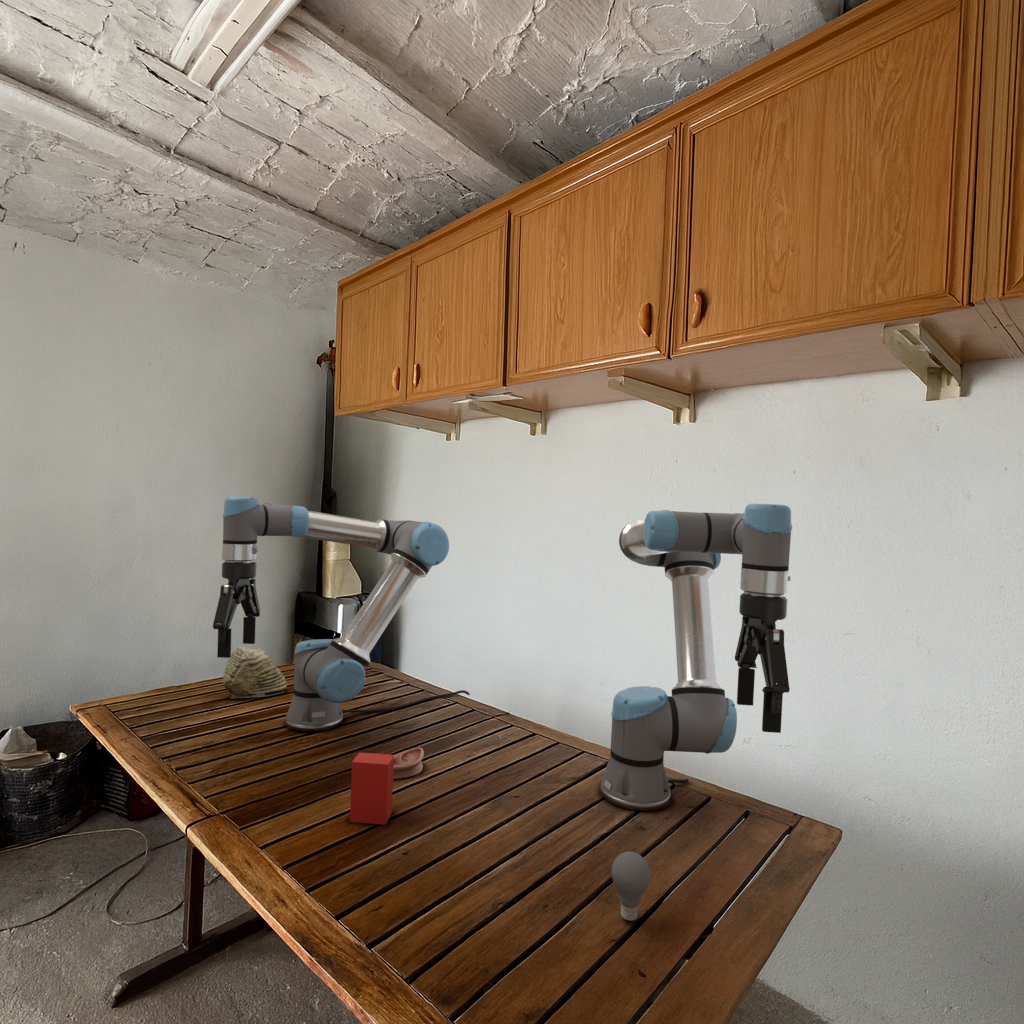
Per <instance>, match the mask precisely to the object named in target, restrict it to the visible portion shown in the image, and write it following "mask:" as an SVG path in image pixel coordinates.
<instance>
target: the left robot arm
mask: <svg viewBox="0 0 1024 1024" xmlns="http://www.w3.org/2000/svg"><path fill="white" fill-rule="evenodd" d="M222 513H223V514H222V518H223V519H222V547H221V548H222V550H221V559H222V561H223V562H222V563H221V577H222V579H227V580H228V581H227V584H221V585H220V592H219V598H218V602H217V607H216V611H215V614H214V618H213V623H212V629H213V630H217V652H216V653H217V655H216V658H222V659H230V657H231V655H232V628H230V627H231V624H232V621H233V618H234V615H235V613H236V610H237V606H238V605H241V609H242V610H243V612H244V615H245V616H243V620H242V621H243V625H242V626H243V628H242V644H243V645H254V644H256V621H257V620H256V618H259V617H260V616H261V608H260V603H259V597H258V592H257V585H256V578H255V577H256V576H257V562H256V560H257V553H258V552H259V548H258V537H293V538H294V537H297V538H303V539H311V540H316V541H324V542H330V543H337V544H344V545H345V544H346V545H351V546H359V547H365V548H370V549H371V550H372V551H373V552H375V553H383V554H386V555H389V556H390V559H391V562H390V564H389V565H388V566H387V568H386V569H385V571H384V573H383V574H382V576H381V577H380V579H378V581H377V583H376V585H375V586H374V588H373V589H372V591H371V592H370V593H369V595H368V597H367V598H366V600H364V602H363V604H362V605H361V607H360V609H359V610H358V612H357V613H356V615H355V616H354V617H353V618H352V620H351V622H350V624H349V625H348V627H347V628H346V630H345V631H344V633H343V634H342V636H340V637H337V638H333V639H332V638H323V639H322V638H320V639H307V640H303V641H299V642H297V644H296V645H295V650H294V653H293V654H294V655H293V656H294V672H293V673H294V674H293V695H292V696H293V697H292V699H291V702H290V704H289V708H288V711H287V713H286V715H285V726H286V728H287V729H289V730H291V731H294V732H295V731H296V732H301V733H316V732H325V731H329V730H332V729H335V728H337V727H339V726H340V725H342V723H343V722H344V714H345V713H347V714H348V713H377V712H378V713H379V712H386V711H392V710H393V711H394V710H398V709H402V708H405V707H409V706H413V705H415V704H419V703H422V702H425V701H429V700H433V699H438V698H444V697H453V696H455V695H458V694H466V695H467V696H470V695H471V693H470V692H469V691H467V690H463V689H462V690H461V689H460V690H457V691H453V692H450V693H442V694H436V695H431V696H428V697H427V696H426V697H423V698H420V699H417V700H414V701H410V702H407V703H403V704H400V705H396V706H389V707H382V708H372V709H371V708H369V709H342V706H341V704H344V703H347V702H350V701H351V700H354V699H355V698H356V697H357V696H358V695H360V693H361V692H362V690H363V689H364V686H365V684H366V679H367V678H366V670H367V669H368V667H369V666H370V664H371V657H370V654H371V652H372V650H373V649H374V647H375V646H376V644H377V642H378V641H379V639H380V638H381V636H382V635H383V633H384V632H385V630H386V629H387V628H388V625H389V624H390V622H391V621H392V619H393V618H394V616H395V615H396V613H397V611H398V610H399V609H400V607H401V605H402V604H403V602H404V600H405V599H406V598H407V596H408V595H409V593H410V591H411V590H412V588H413V587H414V585H415V583H416V582H417V580H418V579H422V578H425V577H426V576H427V575H428V573H429V572H430V571H431V569H432V568H433V567H434V566H438V565H440V564H441V563H443V562H444V561H445V560H446V558H447V557H448V554H449V551H450V540H449V536H448V534H447V532H446V531H445V529H444V528H443V527H442V526H440V525H439V524H436V523H433V522H431V521H417V520H388V519H382V518H379V519H377V520H376V521H374V520H373V521H372V520H367V519H361V518H355V517H349V516H344V515H338V514H331V513H325V512H319V511H313V510H308V509H307V507H305V506H301V505H295V504H294V505H283V504H282V505H281V504H274V503H273V504H272V503H268V502H265V503H261V504H260V503H259V498H258V497H256V496H238V495H237V496H235V495H230V496H227V497H226V498H225V499H224V502H223V512H222Z"/></svg>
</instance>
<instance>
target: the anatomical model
mask: <svg viewBox="0 0 1024 1024" xmlns="http://www.w3.org/2000/svg"><path fill="white" fill-rule="evenodd" d="M393 755H394V770H393V780H394V779H395V780H396V779H404V778H408V777H412V776H415V775H418V774H420V773H421V772H422V771H423V768H424V765H423V762H422V761H423V759H424V755H425V751H424V749H423V748H422V747H414V748H410V749H407V750H404V751H401V752H398V753H396V754H393Z"/></svg>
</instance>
